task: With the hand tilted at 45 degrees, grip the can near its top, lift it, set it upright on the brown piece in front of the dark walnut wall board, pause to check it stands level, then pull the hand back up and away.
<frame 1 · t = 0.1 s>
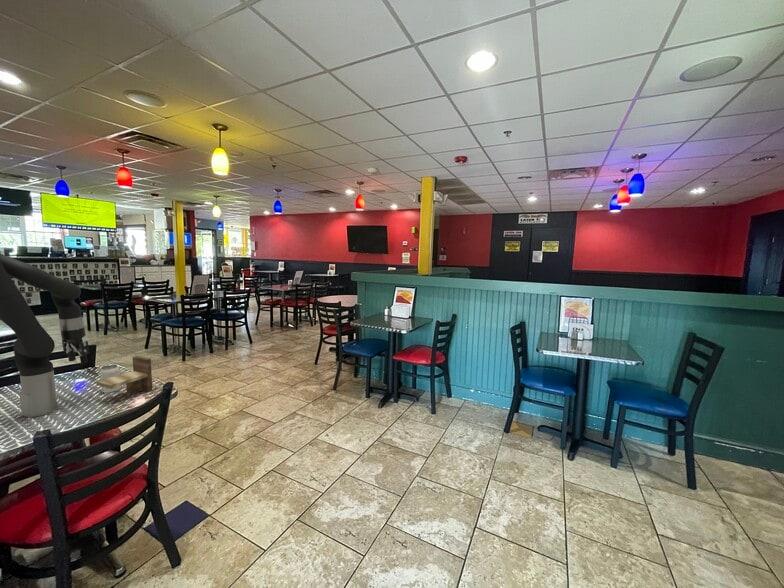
hand: (78, 362, 142), 17 cm above the table, tool pointing down, fingers open, 8 cm apart
can: (111, 391, 154), on the table
brown piece: (125, 395, 149), on the table
paper towel roll: (37, 388, 153), on the table
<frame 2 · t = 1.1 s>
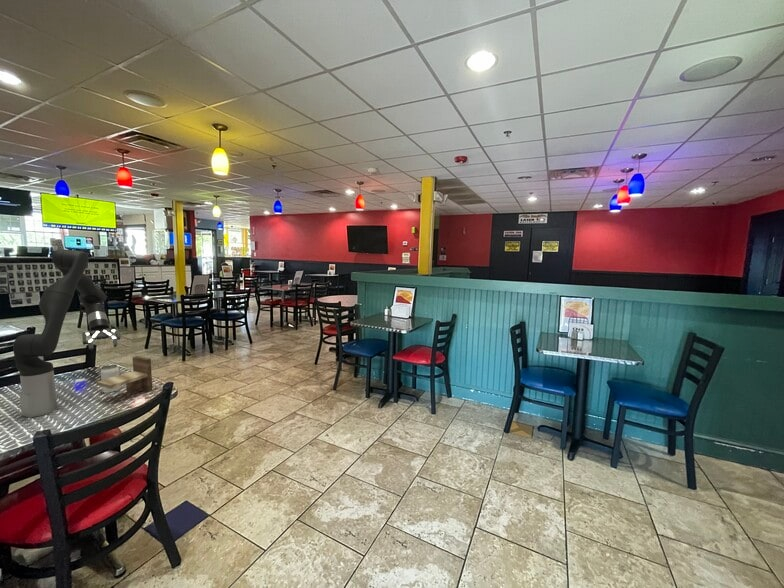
hand: (104, 348, 159), 19 cm above the table, tool tilted 45°, fingers open, 8 cm apart
nothing on the table moved.
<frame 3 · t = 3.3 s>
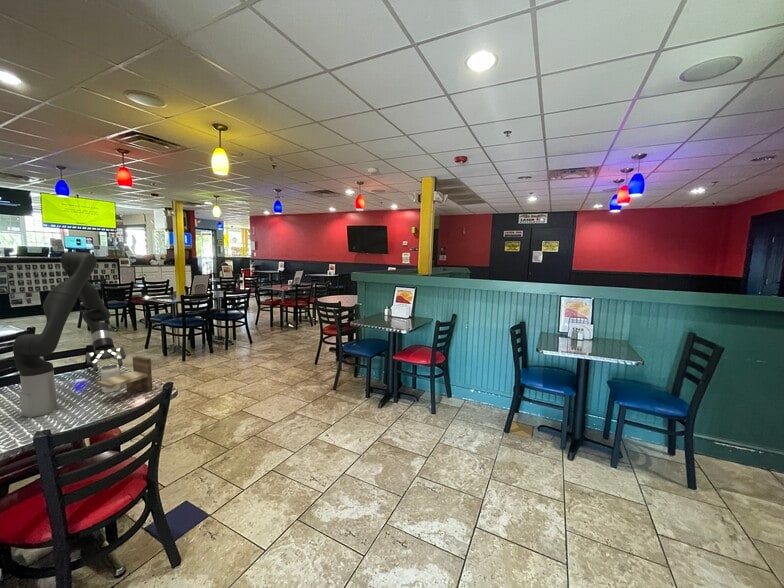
hand: (109, 368, 153), 11 cm above the table, tool tilted 45°, fingers open, 8 cm apart
nothing on the table moved.
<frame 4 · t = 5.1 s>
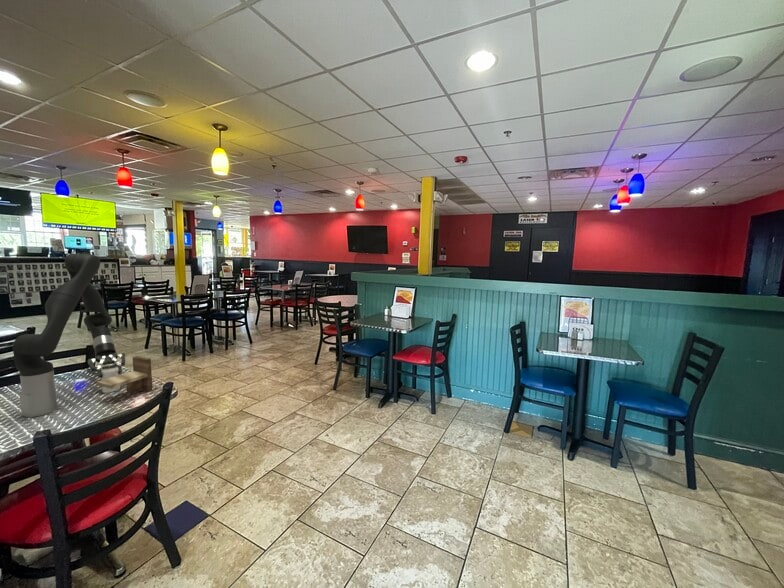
hand: (110, 375, 151), 8 cm above the table, tool tilted 45°, fingers closed on can, 6 cm apart
can: (111, 390, 153), on the table, touching gripper
everything else where it was.
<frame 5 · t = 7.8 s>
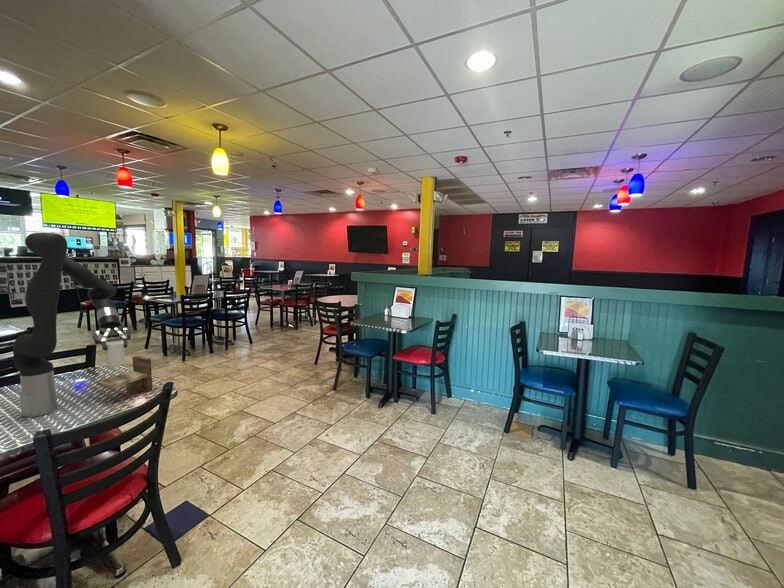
hand: (115, 348, 143), 24 cm above the table, tool tilted 45°, fingers closed on can, 6 cm apart
can: (116, 365, 145), point 15 cm above the table, touching gripper
everything else where it was.
when the fingers open (18 cm above the table, at t = 10.3 s): can stays where it is, resting on brown piece.
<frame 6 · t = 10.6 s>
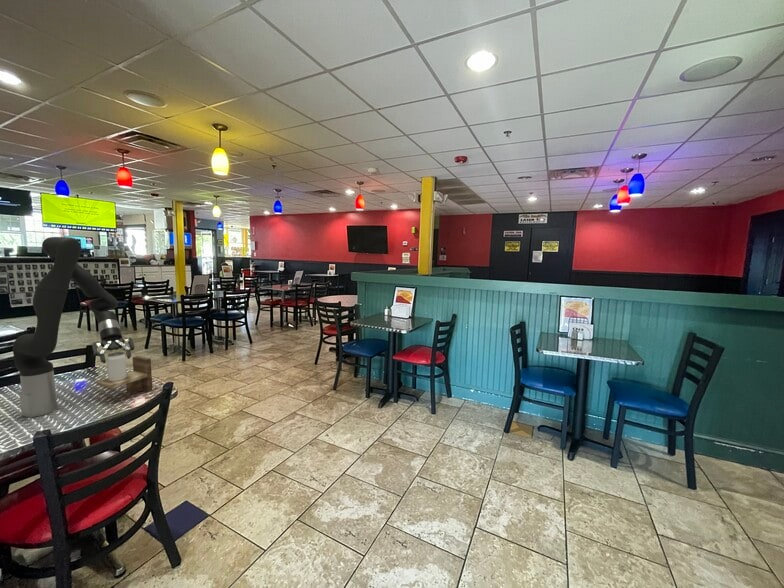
hand: (117, 360, 143), 18 cm above the table, tool tilted 45°, fingers open, 8 cm apart
can: (117, 379, 145), point 9 cm above the table, touching brown piece
everything else where it was.
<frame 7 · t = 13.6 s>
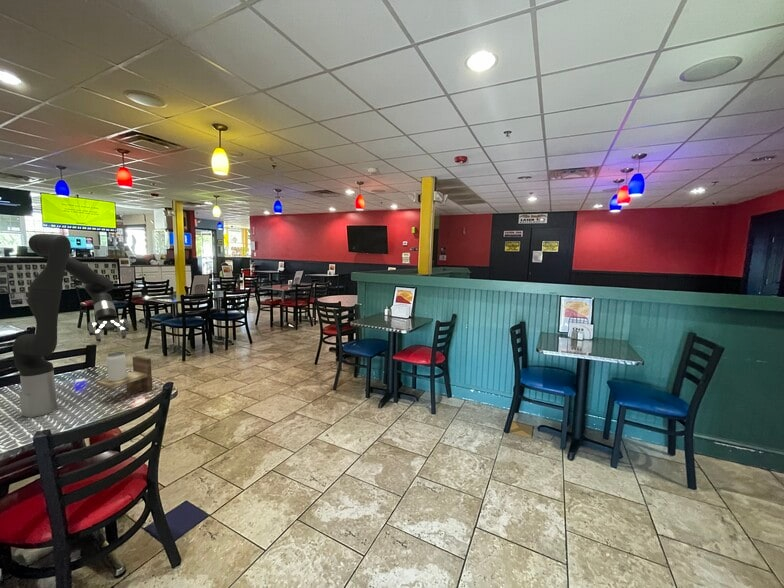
hand: (112, 339, 147), 27 cm above the table, tool tilted 45°, fingers open, 8 cm apart
nothing on the table moved.
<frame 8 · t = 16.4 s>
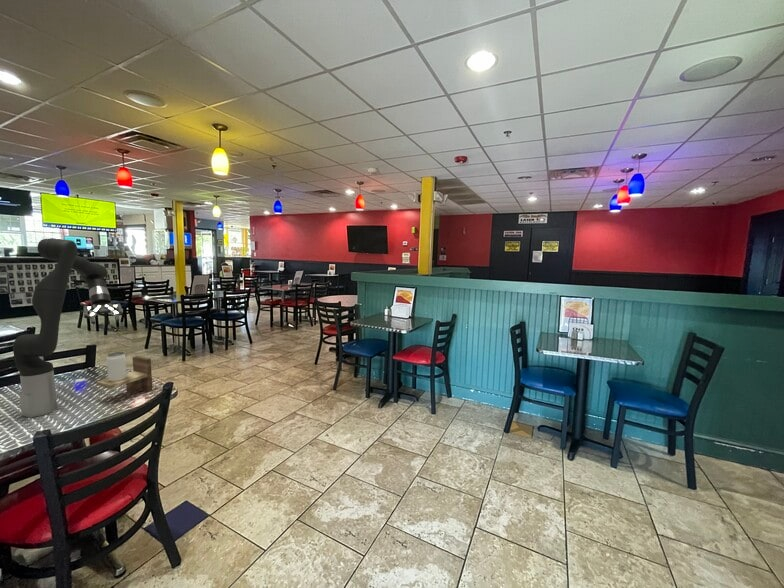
hand: (106, 322, 155), 33 cm above the table, tool tilted 45°, fingers open, 8 cm apart
nothing on the table moved.
at the end: can inside the target area (0.1 cm from its centre), point 8.8 cm above the table; can tilted 0°; the gripper is holding nothing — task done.
